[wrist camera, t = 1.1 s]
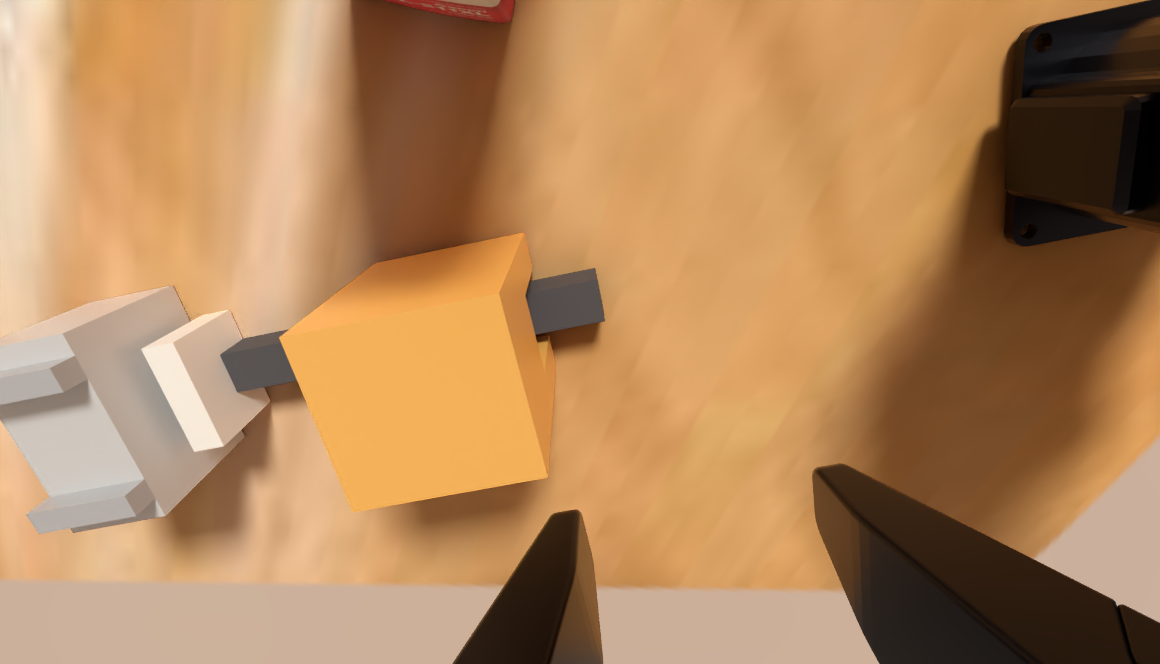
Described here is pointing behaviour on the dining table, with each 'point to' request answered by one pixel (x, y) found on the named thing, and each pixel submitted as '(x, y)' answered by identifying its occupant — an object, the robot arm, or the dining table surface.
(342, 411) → the notched orange cube
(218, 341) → the cream flat block
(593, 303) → the bar
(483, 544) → the dining table surface
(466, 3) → the ink box
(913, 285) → the dining table surface
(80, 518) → the grey i-beam piece
